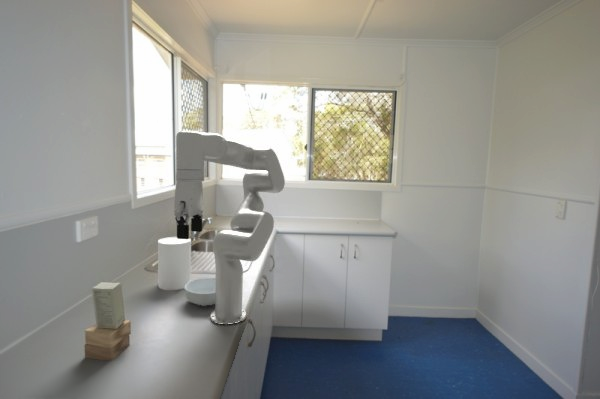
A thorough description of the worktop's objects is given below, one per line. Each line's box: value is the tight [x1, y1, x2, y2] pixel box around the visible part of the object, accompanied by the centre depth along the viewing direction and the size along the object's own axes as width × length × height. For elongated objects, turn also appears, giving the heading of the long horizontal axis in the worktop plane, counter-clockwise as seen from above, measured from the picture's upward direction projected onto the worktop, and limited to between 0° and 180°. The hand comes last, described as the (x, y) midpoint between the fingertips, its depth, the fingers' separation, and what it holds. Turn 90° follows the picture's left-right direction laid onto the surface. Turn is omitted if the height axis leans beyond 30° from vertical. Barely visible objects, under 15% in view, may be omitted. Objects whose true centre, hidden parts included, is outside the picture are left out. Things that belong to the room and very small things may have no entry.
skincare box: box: [91, 281, 126, 329], centre depth 95 cm, size 6×4×12 cm
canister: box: [157, 236, 192, 291], centre depth 147 cm, size 14×14×20 cm
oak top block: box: [84, 319, 132, 348], centre depth 96 cm, size 8×8×4 cm
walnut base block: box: [84, 335, 131, 362], centre depth 97 cm, size 8×8×4 cm
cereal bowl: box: [183, 277, 215, 307], centre depth 132 cm, size 17×17×7 cm
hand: (190, 234), depth 97 cm, fingers open, 9 cm apart
